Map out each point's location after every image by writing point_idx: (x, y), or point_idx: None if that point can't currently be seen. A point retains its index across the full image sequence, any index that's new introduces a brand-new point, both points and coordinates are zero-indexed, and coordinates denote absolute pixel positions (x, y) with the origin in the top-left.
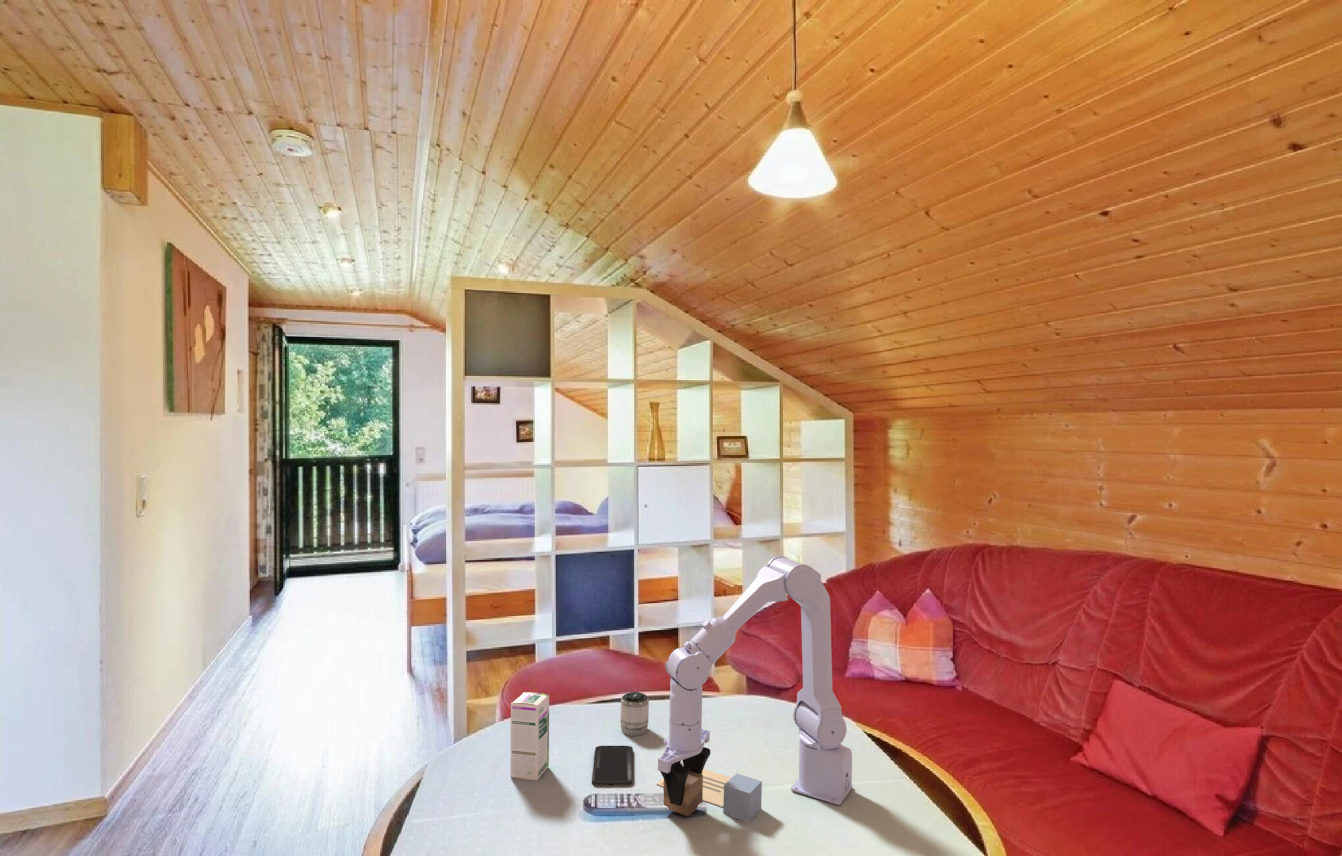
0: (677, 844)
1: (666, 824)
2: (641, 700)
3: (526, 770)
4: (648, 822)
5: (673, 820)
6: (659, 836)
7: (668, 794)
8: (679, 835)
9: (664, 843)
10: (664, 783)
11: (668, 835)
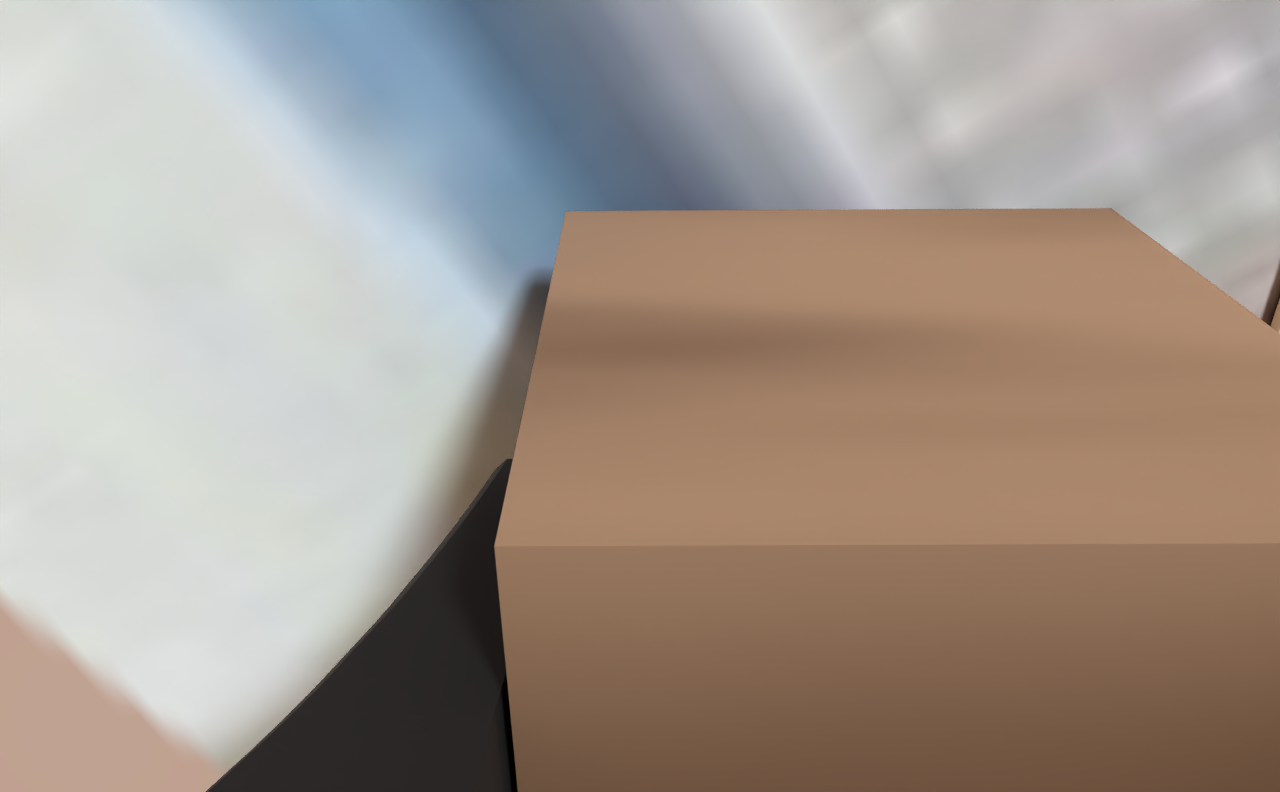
0: (124, 673)
1: (356, 376)
2: None
3: None
4: (190, 118)
5: (509, 403)
6: (62, 445)
7: (446, 537)
8: (281, 615)
9: (9, 562)
10: (513, 481)
11: (175, 520)
